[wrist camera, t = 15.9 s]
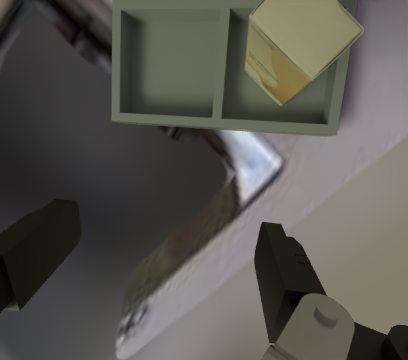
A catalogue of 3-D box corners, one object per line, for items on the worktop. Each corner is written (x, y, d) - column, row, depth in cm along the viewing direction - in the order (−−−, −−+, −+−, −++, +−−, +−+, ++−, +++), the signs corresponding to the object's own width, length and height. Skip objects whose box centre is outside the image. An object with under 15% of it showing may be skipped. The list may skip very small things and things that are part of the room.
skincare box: (243, 70, 27) (242, 13, 15) (271, 40, 26) (294, -47, 14) (282, 110, 27) (312, 83, 15) (312, 80, 26) (368, 28, 14)
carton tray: (125, 123, 31) (111, 120, 28) (127, 16, 29) (112, -1, 26) (325, 136, 28) (336, 135, 24) (343, 14, 26) (359, -6, 22)
